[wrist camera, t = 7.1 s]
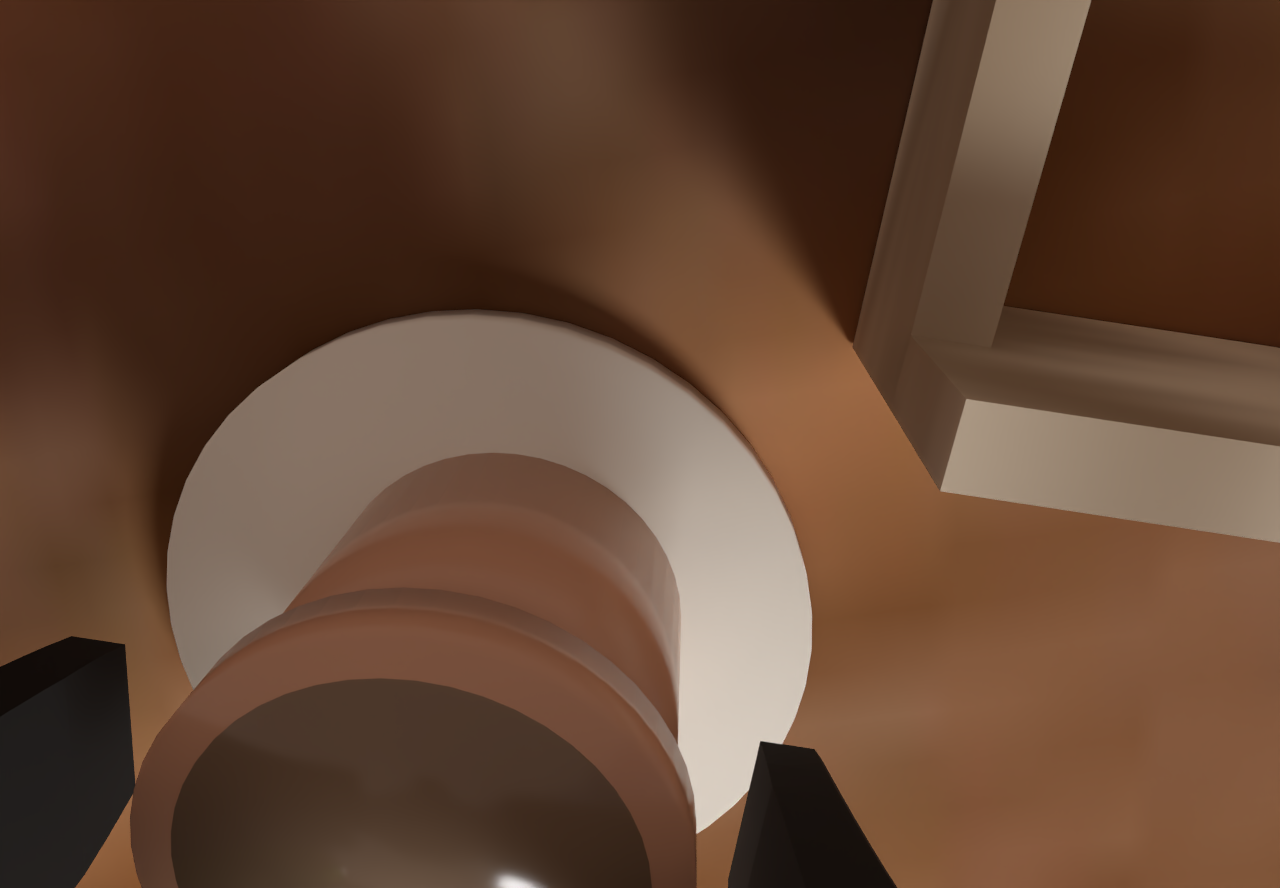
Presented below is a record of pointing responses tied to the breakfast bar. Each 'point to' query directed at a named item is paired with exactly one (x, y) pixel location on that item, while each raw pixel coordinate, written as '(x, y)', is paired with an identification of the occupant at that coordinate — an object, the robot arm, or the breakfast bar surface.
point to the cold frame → (1042, 314)
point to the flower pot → (442, 705)
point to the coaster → (514, 424)
